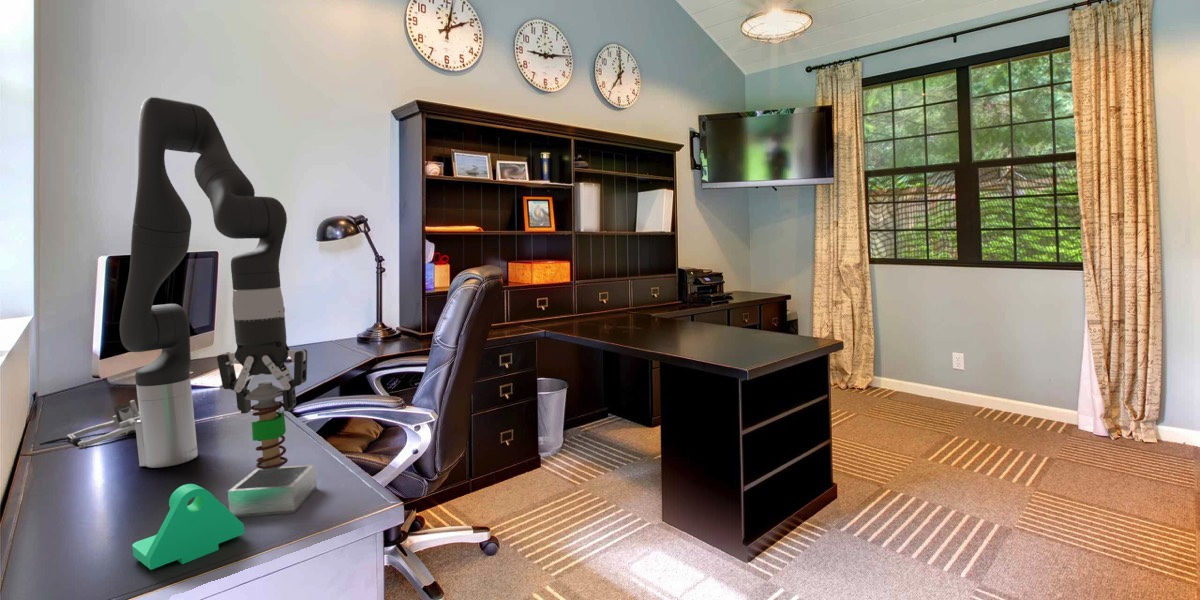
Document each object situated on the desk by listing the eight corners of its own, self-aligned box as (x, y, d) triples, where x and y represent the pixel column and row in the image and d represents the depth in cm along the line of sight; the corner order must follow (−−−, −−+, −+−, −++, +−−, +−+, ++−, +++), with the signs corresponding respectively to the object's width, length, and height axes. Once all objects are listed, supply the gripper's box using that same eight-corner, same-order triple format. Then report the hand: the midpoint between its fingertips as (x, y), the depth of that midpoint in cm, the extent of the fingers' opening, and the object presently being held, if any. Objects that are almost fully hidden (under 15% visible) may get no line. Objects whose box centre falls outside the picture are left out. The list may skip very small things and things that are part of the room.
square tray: (230, 517, 99) (227, 491, 98) (258, 492, 109) (256, 468, 108) (294, 512, 100) (292, 487, 99) (316, 488, 110) (314, 464, 109)
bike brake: (143, 420, 156) (43, 453, 141) (135, 396, 155) (33, 427, 140) (160, 430, 148) (55, 466, 133) (152, 404, 146) (45, 438, 131)
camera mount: (222, 527, 96) (217, 465, 95) (245, 540, 91) (239, 475, 90) (131, 561, 86) (124, 492, 85) (151, 577, 82) (144, 505, 81)
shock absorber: (281, 458, 108) (274, 377, 107) (300, 465, 104) (293, 381, 103) (244, 470, 103) (236, 385, 102) (262, 478, 99) (254, 389, 98)
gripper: (202, 319, 97) (211, 420, 98) (294, 315, 98) (302, 415, 100) (226, 314, 104) (234, 407, 106) (311, 310, 106) (319, 403, 107)
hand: (267, 410), depth 103 cm, fingers closed on shock absorber, 6 cm apart
